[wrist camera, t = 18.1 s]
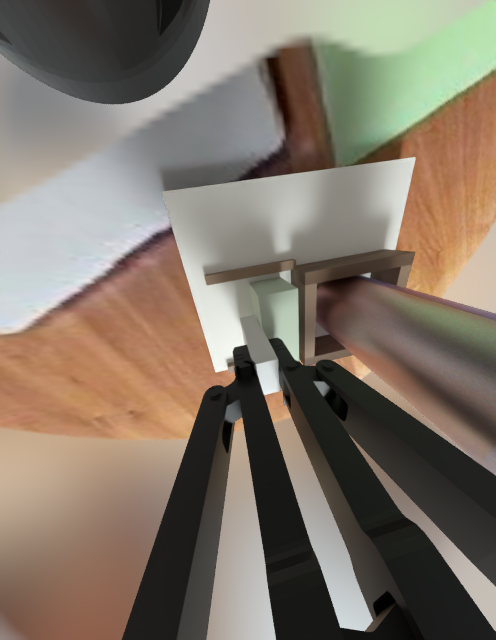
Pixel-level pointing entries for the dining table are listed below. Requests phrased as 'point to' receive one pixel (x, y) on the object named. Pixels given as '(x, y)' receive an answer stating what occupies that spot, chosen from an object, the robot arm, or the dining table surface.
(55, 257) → the dining table surface
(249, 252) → the board
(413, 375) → the beverage can
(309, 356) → the socket
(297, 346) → the block
